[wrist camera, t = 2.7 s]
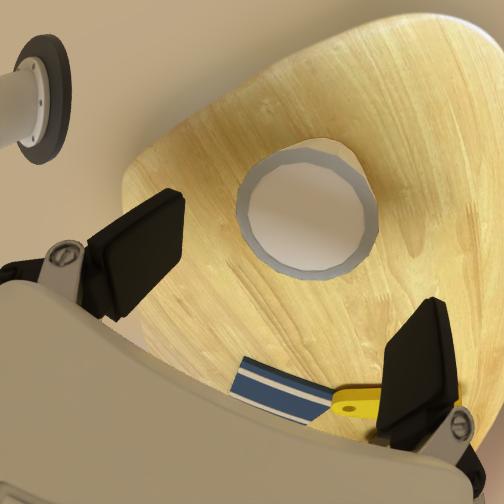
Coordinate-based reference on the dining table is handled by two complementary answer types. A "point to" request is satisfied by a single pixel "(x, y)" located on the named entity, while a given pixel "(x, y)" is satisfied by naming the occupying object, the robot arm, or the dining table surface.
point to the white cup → (309, 210)
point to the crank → (362, 402)
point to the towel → (280, 392)
